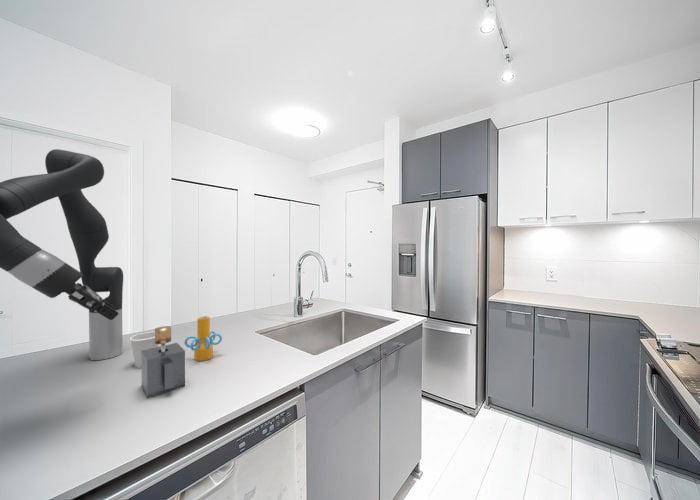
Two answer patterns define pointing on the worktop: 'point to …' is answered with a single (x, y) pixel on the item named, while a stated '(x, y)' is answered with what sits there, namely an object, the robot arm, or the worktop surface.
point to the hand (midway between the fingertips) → (113, 313)
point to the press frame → (163, 369)
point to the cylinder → (203, 340)
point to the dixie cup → (142, 345)
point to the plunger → (163, 336)
